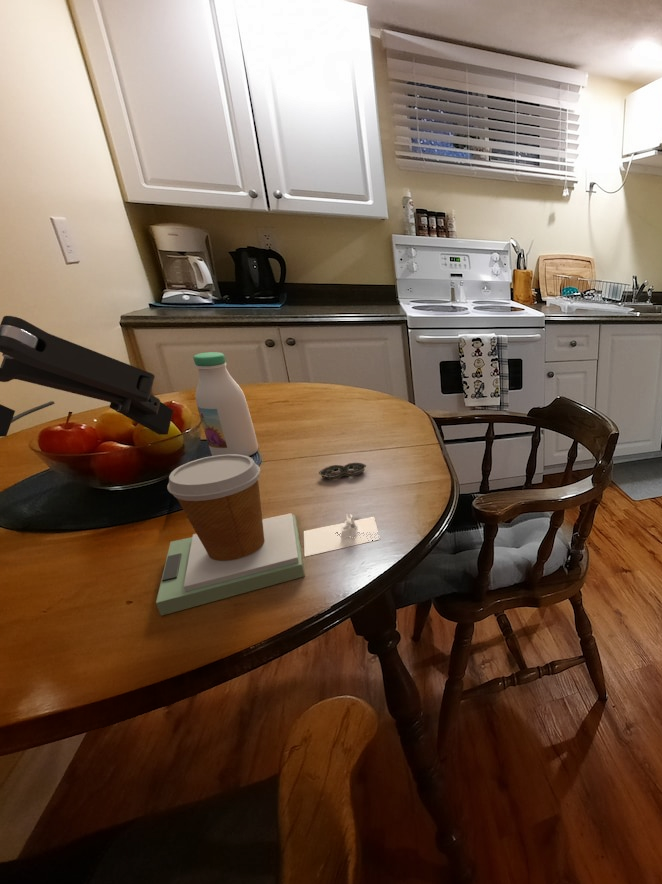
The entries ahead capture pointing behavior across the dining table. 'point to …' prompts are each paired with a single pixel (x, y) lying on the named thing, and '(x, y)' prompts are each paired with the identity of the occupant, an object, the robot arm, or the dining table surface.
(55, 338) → the robot arm
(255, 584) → the kitchen scale
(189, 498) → the disposable coffee cup
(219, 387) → the milk bottle
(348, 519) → the rabbit figurine
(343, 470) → the corroded twin loop
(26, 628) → the dining table surface
